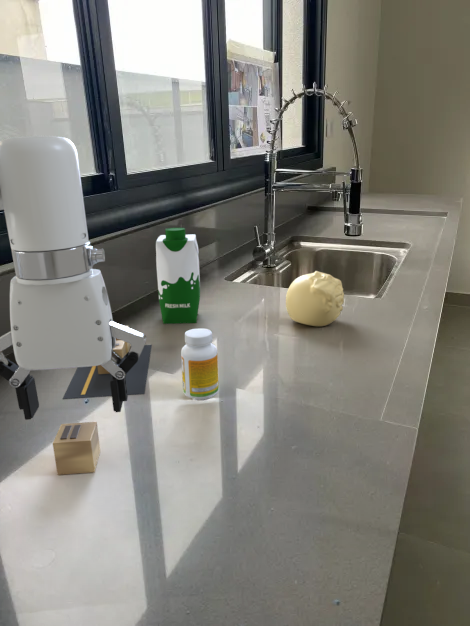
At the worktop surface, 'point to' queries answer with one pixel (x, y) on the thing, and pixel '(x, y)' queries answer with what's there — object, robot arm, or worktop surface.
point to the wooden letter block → (119, 350)
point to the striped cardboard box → (76, 448)
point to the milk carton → (178, 276)
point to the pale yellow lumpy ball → (315, 299)
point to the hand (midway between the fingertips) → (76, 410)
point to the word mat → (108, 379)
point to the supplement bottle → (199, 365)
